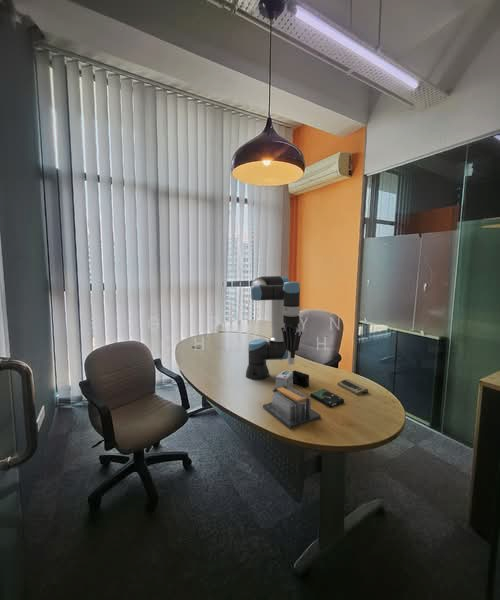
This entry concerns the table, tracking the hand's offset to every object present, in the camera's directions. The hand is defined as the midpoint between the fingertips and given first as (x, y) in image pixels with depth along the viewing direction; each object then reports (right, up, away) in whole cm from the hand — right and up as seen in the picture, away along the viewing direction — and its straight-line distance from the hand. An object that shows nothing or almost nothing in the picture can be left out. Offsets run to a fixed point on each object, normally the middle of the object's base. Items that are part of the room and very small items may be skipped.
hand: (291, 363), depth 132 cm
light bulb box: (0, -22, +25) cm, 33 cm away
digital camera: (+10, -21, +35) cm, 42 cm away
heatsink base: (0, -24, +2) cm, 24 cm away
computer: (+40, -22, +29) cm, 54 cm away
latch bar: (0, -16, +2) cm, 16 cm away
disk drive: (+21, -23, +16) cm, 35 cm away
